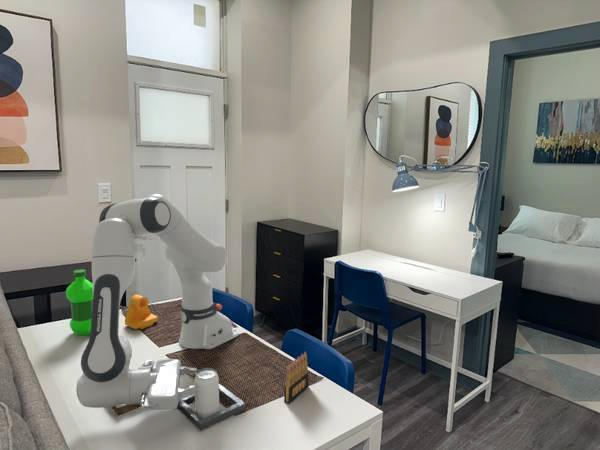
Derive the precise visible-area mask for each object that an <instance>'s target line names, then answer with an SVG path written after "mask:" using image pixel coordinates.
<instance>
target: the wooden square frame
mask: <svg viewBox="0 0 600 450" xmlns="http://www.w3.org/2000/svg"><path fill="white" fill-rule="evenodd" d="M141 408H143V407H142V406H140V404H131V405H129V404H119V405H117V406H113V407H110V409H111V410H112V411H113V412H114V413H115V415H116V416H117V417H120V416H123V415H125V414H127V413H128V414H129V413H130V412H133V411H135V410H137V409H141Z"/></svg>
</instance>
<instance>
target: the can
mask: <svg viewBox="0 0 600 450" xmlns="http://www.w3.org/2000/svg"><path fill="white" fill-rule="evenodd" d="M219 384H220V379H219V375H218V371H217V370H216V369H215V368H212V367H206V368H201V369H198V370H197V373H196V376H194V385H196V387H197V393H196V394H195V402H194V409H195V410H194V412H196V413H197V414H198V415H199V416H200V417H201V418H202V419H204V418H206V417H209V416H211V415H213V414H215V413H217V412H219V411H220V395H219Z"/></svg>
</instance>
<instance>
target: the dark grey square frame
mask: <svg viewBox="0 0 600 450" xmlns="http://www.w3.org/2000/svg"><path fill="white" fill-rule="evenodd" d="M219 397H221V398H223V399H224V400H226V402H228V403H229V404H230V405H229V406H228V407H226V408H223V409H222V410H221V409H220V410H219V412H217V413H215V414H213V415H211V416H209V417H206V418H204V419H202V418H201V417H200V416H199V415H198V414H197V413H196V412H195V410H194V409H192V408H191V406H189V405H191V404H195V394H193V395H189V396H187V397H185V398H183V399H178V407H176V408H175V409H178V411H179V412H180V413H181V414H182V415H184V417H185V418H187V419H188V421H189V422H191V423H192V425H193V426H195V427H196V428H197V429H198V430H199V431H200V432H203V431H204V430H206V429H208V428H211V427H212V426H215V425H216V424H218V423H220V422H223V421H225V420H227V419H229V418H231V417H233V416H235V415H237V414H239V413H240V412H243V411H245V410H246V402H244V401H243V400H241V399H240V398H239V397H237V395H235V394H234V393H232V392H231V391H230V390H229V389H227V388H226V387H224V386H223V385H222V384H220V383H219Z"/></svg>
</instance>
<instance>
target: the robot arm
mask: <svg viewBox="0 0 600 450" xmlns="http://www.w3.org/2000/svg"><path fill="white" fill-rule="evenodd" d="M98 219H99V220H98V221H99V222H98V224H97V226H96V228H95V232H94V235H93V240H92V249H91V277H92V283H93V308H92V321H91V333H90V334H89V339H88V343H87V344H86V347H85V349H84V351H83V352H82V355H81V358H80V366H81V370H82V374H81V376H80V377H79V378H78V379H77V383H76V396H77V399H78V401H79V404H81V406H83V407H86V408H91V409H93V408H95V409H97V408H98V409H99V408H111V407H113V406H117V405H119V404H129V405H131V404H140V406H142V407H141V408H143V409H146V410H147V409H149V410H151V411H170V410H172V411H173V410H174V409H175V410H176V409H177V408H176V407H178V399H183V398H185V397H187V396H189V395H193V394H196V393H197V387H196V385H195V384H194V385H189V387H187V388H184V389H183V388H180V383H181V377H183V376H185V375H188V376H190V377H193V376H194V377H196V373H197V372H198V369H197V367H189V366H186V365H184V366H182V363H181V360H180V359H178V358H166V359H158V360H155V361H154V359H147V360H145V361H144V362H143V363H142V364H141V365H140V366H138V367H137V369H135V368H134V369H130V363H131V359H132V356H133V348H132V345H131V343H130V341H129V340H128V339H127V338H125V337H124V336H122V335H119V327H120V326H119V325H120V306H121V301H122V298H123V295H124V293H125V292H126V290H127V289H128V287H129V286H130V284H131V283H132V281H133V277H134V273H135V264H136V248H135V238H136V237H141V236H145V235H149V234H154V235H155V236H156V237H157V238H158V239H159V240H160V242H162V243H163V245H164V246H166V247H165V250H164V253H165V258H166V260H167V261H168V262H169V263H170V264H171V266H172V267H173V269H174V271H175V273H176V276H177V278H178V281H179V284H180V290H181V292H180V293H181V306H180V307H181V308H180V317H181V329H180V335H179V339H178V343H179V346H181V347H184V348H187V349H205V350H211V349H214V348H216V347H218V346H220V345H222V344H224V343H226V342H229V341H231V340H232V339H234V338H237V337H238V336H239V331H238V330H237V329H236V328H235V327H234V326H233V324H232V320H231V319H230V318H229V317H227V316H226V315H224V314H223V313H221V312H220V311H221V310H222V309H223V305H222V304H220V303H215V302H213V285H212V282H211V280H210V279H209V278H208V277H207V276H206V275H205V273H218V272H221V271H222V270H223V269H224V268H225V267H226V265H227V263H228V252H227V250H226V249H227V248H225V247H224V246H222V245H220V244H218V243H216V242H215V241H213V240H212V239H211V238H209V237H208V236H206V235H205V234H204V233H203V232H201V231H199V230H198V229H197V228H196V227H195V226H193V225H192V224H191V222H189V220H188V219H187V218H186V217H185V216H184V215H183V213H182V212H181V211H180V210H179V209H178V207H177V206H175V205H174V204H173V203H172V202H171V201H170V200H168V198H166V197H165V196H164V195H162V194H159V193H153V194H149V195H147V196H146V197H144V198H135V199H129V200H126V201H121V202H118V203H112V204H109V205H107V206H105V207H104V208H103V209H102V210H101V213H100V215H99V218H98Z"/></svg>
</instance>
